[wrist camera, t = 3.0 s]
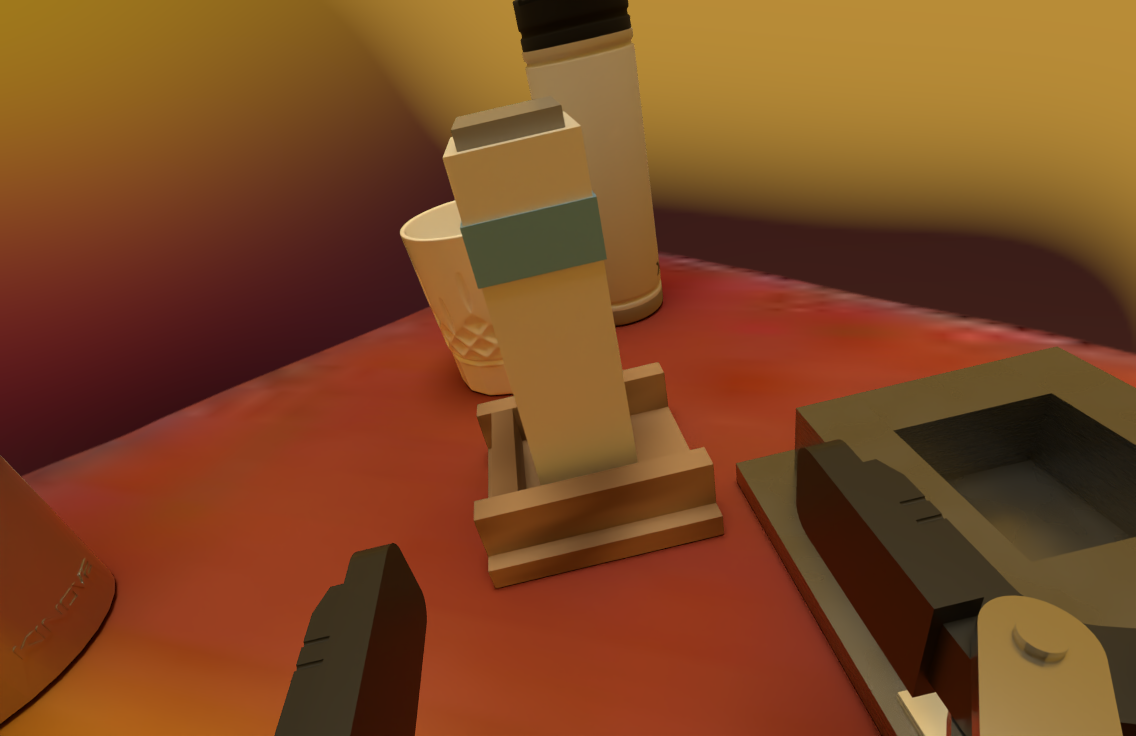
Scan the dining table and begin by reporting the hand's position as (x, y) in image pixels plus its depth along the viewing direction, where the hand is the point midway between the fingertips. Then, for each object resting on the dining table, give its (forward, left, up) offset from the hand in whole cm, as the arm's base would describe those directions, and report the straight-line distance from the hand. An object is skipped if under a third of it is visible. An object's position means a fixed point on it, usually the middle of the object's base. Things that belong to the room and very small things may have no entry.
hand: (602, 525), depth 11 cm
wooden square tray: (0, +11, -9) cm, 14 cm away
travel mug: (+5, +28, -9) cm, 30 cm away
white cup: (-3, +23, -9) cm, 25 cm away
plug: (0, +11, -8) cm, 14 cm away
